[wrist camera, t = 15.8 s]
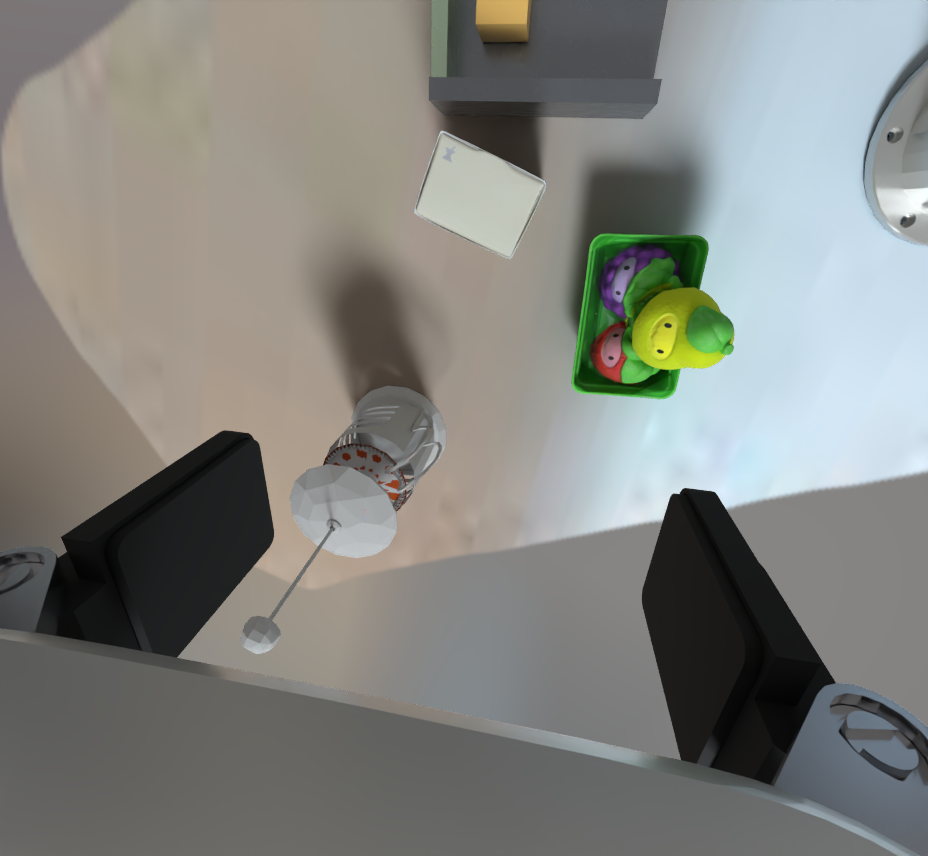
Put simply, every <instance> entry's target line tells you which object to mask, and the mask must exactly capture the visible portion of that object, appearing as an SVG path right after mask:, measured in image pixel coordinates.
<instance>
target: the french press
mask: <svg viewBox="0 0 928 856" xmlns="http://www.w3.org/2000/svg"><path fill="white" fill-rule="evenodd" d="M351 427H352V429H351ZM349 434H351V444H349ZM345 435H346V445H344V446H343V440H344V437H345ZM341 437H342V439H341V442H340V447H337V446H338V443H339V439H340V438H341ZM445 446H446V427H445V424H444V422H443V419H442V417H441V414H440V412H439V410H438V409H437V408H436V407H435V406H434V405H433V404H432V403H431V402H430V401H429V400H428V399H427V398H426V397H425V396H423V395H421V394H419V393H417V392H415V391H413V390H411V389H409V388H407V387H398V386H384V387H381V388H378V389H375V390H372V391H370V392H368V393H367V394H366V395H365V396H364V397H363V398H362V399H361V400H360V401H359V402H358V403H357V405H356V408H355V411H354V413H353V416H352V424H351V425H350V426H349V427H348V429H347V430H346V431H345V432H344V433H343V434H342V435H341V436H340V437H339V438H338V439H337V441H336V442H335V443H334V444H333V445H332V446H331V447H330V450H329V452H328V455H327V457H326V458H325V461H324V464H323V466H319V467H315V468H311V469H308V470H307V471H306V472H305V473H304V474H302V475H301V476H300V477H299V478H298V479H297V480H296V481H295V483H294V486H293V489H292V492H291V495H290V503H291V510H292V516H293V517H294V519H295V521H296V523H297V524H298V526H299V528H300V529H301V531H302V533H304V534H305V535H306V536H307V537H308V538H309V539H310V540H312V541H313V542H314V543H315V544H316V545H317V546H318V547H317V549H316V550H315V552H314V553H313V555H312V556H311V558H310V559H309V560H308V562H307V563H306V565H305V566H304V568H303V569H302V571H301V572H300V573H299V575H298V576H297V578H296V579H295V581H294V582H293V584H292V585H291V587H290V588H289V589H288V591H287V592H286V594H285V595H284V597H283V598H282V600H281V601H280V603H279V604H278V606H277V607H276V608H275V610H274V611H273V613H272V614H271V616H270V617H269V618H266V617H261V616H256V617H251V618H250V619H249V620H248V621H247V623H246V624H245V626H244V629H243V632H242V635H241V642H242V645H243V647H244V648H246V649H248V650H249V651H251V652H253V653H255V654H259V653H265V652H267V651H269V650H271V649H272V648H273V647H274V645H275V644H276V642H277V641H278V640H279V638H280V636H281V632H280V629H279V628H278V627H277V625H276V624H275V623H274V622H273V621H272V620H273V618H274V617H275V615H276V614H277V612H278V611H279V609H280V608H281V606H282V605H283V603H284V602H285V600H286V599H287V597H288V596H289V594H290V593H291V591H292V590H293V589H294V587H295V586H296V584H297V583H298V581H299V580H300V578H301V577H302V575H303V574H304V572H305V571H306V569H307V568H308V567H309V565H310V564H311V562H312V561H313V559H314V558H315V556H316V555H317V553H318V552H319V550H320V549H321V548H324V549H326V550H328V551H330V552H332V553H334V554H336V555H341V556H347V557H353V558H359V557H365V556H371V555H375V554H377V553H378V552H380V551H381V550H383V549H384V548H386V547H387V546H389V545H390V543H391V541H392V539H393V537H394V535H395V533H396V531H397V512H396V511H398V510H399V509H400V508H401V506H402V505H403V504H405V502H406V501H407V500H408V498H409V497H410V495H411V494H412V492H413V490H414V488H415V486H416V484H417V482H418V480H419V479H420V478H421V477H422V476H423V475H424V474H425V473H426V472H427V471H428V470H429V469H430V468H431V467H432V466H433V465H434V464H435V463H436V462H437V461H438V460H439V458H440V456H441V454H442V452H443V450H444V448H445ZM403 475H407V476H414V477H413V478H412V479H405V478H404V476H403ZM406 483H408V484H407V485H406ZM412 486H413V488H412V489H413V490H412V489H411V490H409V491H407V492H406V490H407V489H408V488H410V487H412ZM410 492H411V493H410ZM409 493H410V494H409ZM408 494H409V496H408V497H407V498H406V495H408Z"/></svg>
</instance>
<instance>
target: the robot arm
mask: <svg viewBox="0 0 928 856" xmlns="http://www.w3.org/2000/svg"><path fill="white" fill-rule="evenodd" d="M888 133H889V139H888V140H887V135H888ZM864 185H865V190H866V196H867V201H868V203H869V206H870V208H871V210H872V212H873V215H874V217H875V218H876V219H877V220H878V221H879V223H880V224H881V225H882V226H883V227H884V229H886V230H887V231H889V232H890V233H891V234H893V235H894V236H896V237H897V238H899V239H902V240H904V241H907V242H910V243H912V244H916V245H923V246H928V59H927V60H926V61H925V62H924V63H923V64H922V65H921V66H920V67H919V68H918V69H917V70H916V71H915V72H914V73H913V74H912V75H911V76H910V77H909V78H908V79H907V81H906V82H905V83H904V85H903V86H902V87H901V88H900V90H899V91H898V92H897V93H896V95H895V96H894V97H893V98H892V100H891V102H890V103H889V105H888V107H887V108H886V110H885V112H884V113H883V115H882V117H881V118H880V120H879V122H878V125H877V127H876V129H875V132H874V134H873V137H872V139H871V141H870V145H869V149H868V153H867V158H866V162H865V177H864ZM901 219H902V221H901ZM900 221H901V223H900ZM61 538H62V541H63V543H64V545H65V548H66V550H67V552H66V553H65V554H64V555H62V556H60V557H59V558H58V557H57V555H56V553H55V552H54V551H52V550H51V549H50V548H46V547H42V546H26V547H20V548H14V549H9V550H6V551H3V552H0V856H928V727H926V726H925V725H924V724H923V723H922V722H921V721H920V720H918V718H916V717H915V716H914V715H913V714H911V713H910V712H908V711H907V710H905V709H904V708H902V707H901V706H899V705H898V704H897V703H895V702H893V701H892V700H890V699H888V698H886V697H883V696H882V695H880V694H878V693H876V692H874V691H871V690H868V689H865V688H862V687H859V686H856V685H852V684H842V683H835V681H834V679H833V678H832V676H831V675H830V673H829V671H828V670H827V668H826V666H825V665H824V663H823V662H822V660H821V659H820V657H819V655H818V654H817V652H816V651H815V649H814V647H813V646H812V644H811V642H810V641H809V639H808V638H807V636H806V635H805V633H804V631H803V630H802V628H801V626H800V625H799V623H798V622H797V620H796V618H795V617H794V615H793V614H792V612H791V610H790V609H789V607H788V606H787V604H786V602H785V601H784V599H783V598H782V596H781V595H780V593H779V591H778V590H777V588H776V587H775V585H774V583H773V582H772V580H771V578H770V577H769V575H768V574H767V572H766V571H765V569H764V568H763V567H762V565H760V563H759V562H758V561H757V559H756V557H755V556H754V554H753V552H752V551H751V549H750V548H749V546H748V544H747V543H746V541H745V539H744V538H743V536H742V535H741V533H740V531H739V530H738V528H737V526H736V525H735V523H734V522H733V520H732V518H731V517H730V515H729V514H728V512H727V510H726V509H725V507H724V505H723V504H722V502H721V501H720V499H719V497H718V496H717V494H716V493H715V492H712V491H704V490H696V489H688V488H684V489H682V491H681V492H680V494H672V496H671V497H670V500H669V503H668V506H667V510H666V513H665V516H664V520H663V523H662V526H661V530H660V533H659V536H658V540H657V543H656V546H655V550H654V553H653V556H652V560H651V563H650V567H649V570H648V573H647V577H646V580H645V583H644V587H643V591H642V605H643V609H644V614H645V618H646V622H647V625H648V630H649V634H650V637H651V642H652V645H653V650H654V654H655V658H656V662H657V666H658V670H659V673H660V678H661V682H662V685H663V689H664V693H665V697H666V701H667V705H668V709H669V713H670V717H671V721H672V725H673V729H674V733H675V737H676V741H677V745H678V749H679V753H680V757H681V760H677V759H673V758H667V757H663V756H659V755H654V754H650V753H645V752H640V751H636V750H632V749H627V748H623V747H618V746H613V745H609V744H605V743H600V742H595V741H591V740H587V739H582V738H577V737H572V736H567V735H563V734H558V733H552V732H548V731H543V730H538V729H533V728H528V727H523V726H518V725H514V724H508V723H504V722H498V721H494V720H489V719H484V718H479V717H474V716H469V715H465V714H460V713H454V712H450V711H445V710H440V709H435V708H429V707H425V706H420V705H415V704H410V703H405V702H400V701H395V700H390V699H385V698H380V697H375V696H370V695H365V694H360V693H355V692H350V691H345V690H340V689H334V688H330V687H324V686H319V685H314V684H309V683H304V682H299V681H294V680H289V679H284V678H279V677H274V676H269V675H263V674H258V673H253V672H248V671H242V670H238V669H233V668H227V667H222V666H217V665H211V664H206V663H201V662H196V661H190V660H185V659H180V658H177V657H178V655H180V653H181V652H182V651H183V650H184V648H185V647H186V646H187V645H188V644H189V643H190V641H191V640H192V639H193V638H194V637H195V635H196V634H197V633H198V632H199V631H200V629H201V628H202V627H203V626H204V625H205V623H206V622H207V621H208V620H209V619H210V617H211V616H212V615H213V614H214V613H215V612H216V610H217V609H218V608H219V607H220V606H221V604H222V603H223V602H224V601H225V600H226V598H227V597H228V596H229V595H230V594H231V592H232V591H233V590H234V589H235V588H236V586H237V585H238V584H239V583H240V582H241V580H242V579H243V578H244V577H245V576H246V574H247V573H248V572H249V571H250V570H251V569H252V567H253V566H254V565H255V564H256V563H257V561H258V560H259V559H260V558H261V557H262V555H263V554H264V553H265V552H266V551H267V549H268V548H269V547H270V545H271V543H272V541H273V538H274V528H273V522H272V516H271V510H270V504H269V499H268V493H267V487H266V481H265V475H264V469H263V463H262V457H261V451H260V446H259V443H258V442H257V441H256V440H254V439H253V437H252V436H251V435H250V434H249V433H242V432H234V431H222V432H220V433H218V434H217V435H215V436H214V437H212V438H210V439H209V440H207V441H206V442H204V443H203V444H201V445H200V446H198V447H197V448H195V449H194V450H192V451H191V452H189V453H188V454H186V455H185V456H183V457H182V458H180V459H179V460H177V461H176V462H174V463H173V464H171V465H170V466H168V467H167V468H165V469H164V470H162V471H161V472H159V473H157V474H156V475H154V476H153V477H152V478H150V479H148V480H147V481H145V482H144V483H142V484H141V485H139V486H138V487H136V488H135V489H133V490H132V491H130V492H129V493H127V494H126V495H124V496H123V497H121V498H120V499H118V500H117V501H115V502H114V503H112V504H111V505H109V506H107V507H106V508H104V509H103V510H101V511H100V512H98V513H97V514H95V515H94V516H92V517H91V518H89V519H88V520H86V521H85V522H83V523H82V524H80V525H79V526H77V527H76V528H74V529H73V530H71V531H70V532H68V533H67V534H65V535H63V536H62V537H61Z"/></svg>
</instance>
